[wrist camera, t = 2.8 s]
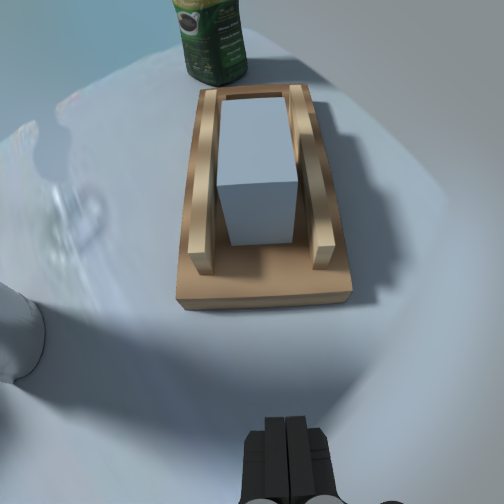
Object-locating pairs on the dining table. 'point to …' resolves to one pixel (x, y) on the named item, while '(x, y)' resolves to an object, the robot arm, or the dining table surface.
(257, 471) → the robot arm
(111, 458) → the dining table surface
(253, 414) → the dining table surface
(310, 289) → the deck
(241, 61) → the coffee jar
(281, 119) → the block
